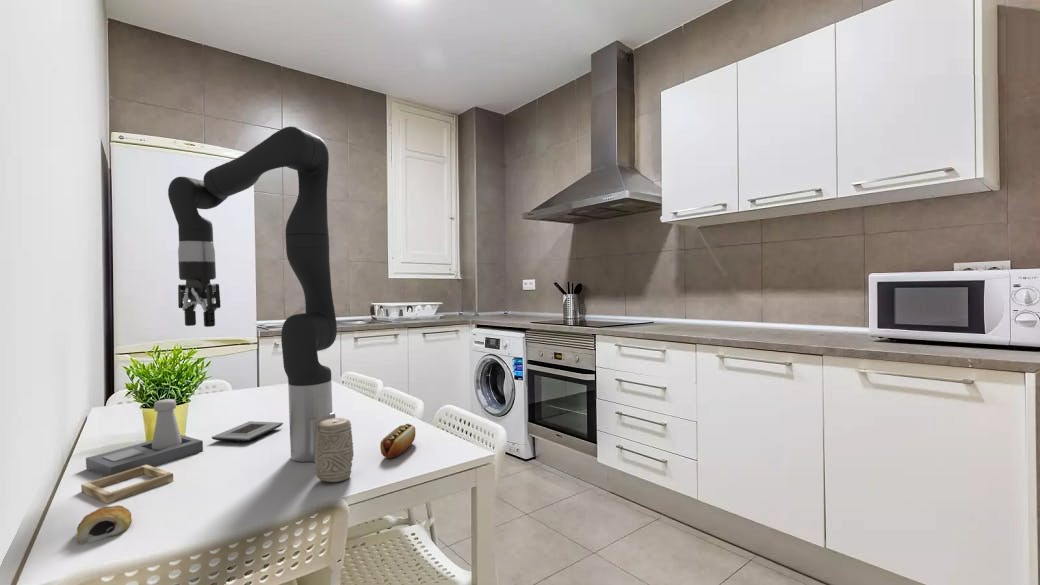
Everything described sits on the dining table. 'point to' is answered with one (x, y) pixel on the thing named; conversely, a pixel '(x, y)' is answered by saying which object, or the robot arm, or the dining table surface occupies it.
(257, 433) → the electrical outlet
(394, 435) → the hot dog
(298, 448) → the robot arm
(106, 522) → the pastry
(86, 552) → the dining table surface
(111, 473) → the grey rectangular frame
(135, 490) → the wooden square frame
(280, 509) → the dining table surface
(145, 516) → the dining table surface
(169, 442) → the salt shaker
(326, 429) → the carving
